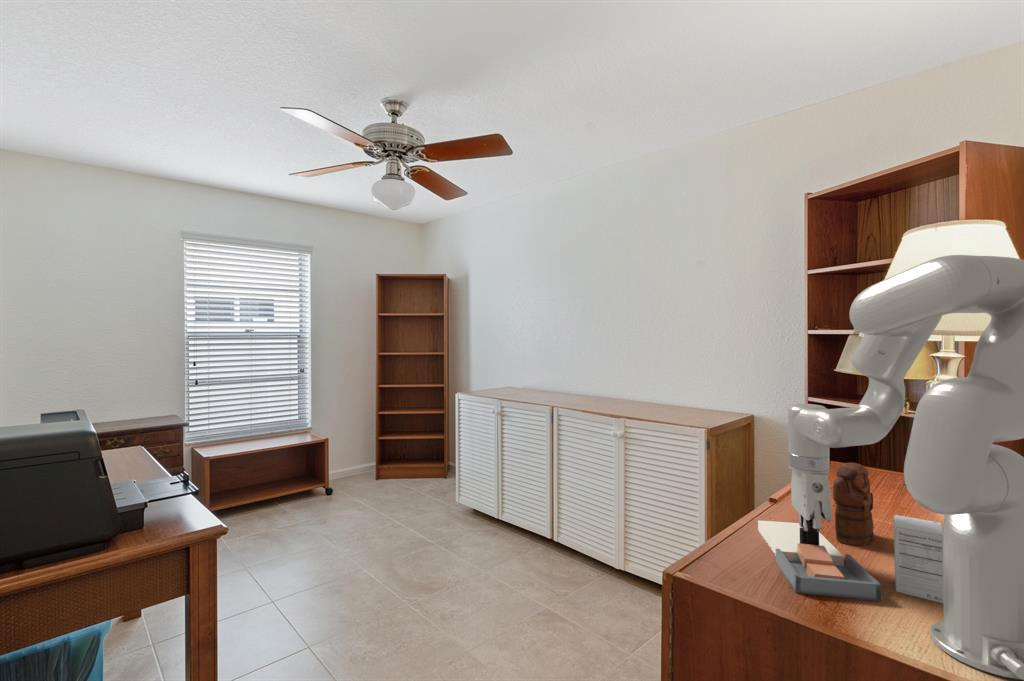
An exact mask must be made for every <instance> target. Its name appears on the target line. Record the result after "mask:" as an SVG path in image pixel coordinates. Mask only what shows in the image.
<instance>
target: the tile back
mask: <svg viewBox="0 0 1024 681" xmlns="http://www.w3.org/2000/svg"><path fill="white" fill-rule="evenodd" d="M797 554H798V556H799V558H800V560H801V563H802V565H803V567H804V568H806V562H809V563H819V564H829V565H833V561H832V559H831V557H830V555H829V553H828V552H827V550H826V548H825V546H820V545H810V544H799V543H797Z"/></svg>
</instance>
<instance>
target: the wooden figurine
mask: <svg viewBox="0 0 1024 681" xmlns="http://www.w3.org/2000/svg"><path fill="white" fill-rule="evenodd" d="M832 499H833V501H834V502H835V503H834V504H835V505H836V506H835V509H834V528H835V539H836V541H837V542H839V543H841V544H845V545H846V544H847V545H852V546H867V545H869V544H870V542H871V541H873V536H874V535H875V534H874V528H875V526H874V519H873V514H872V510H873V509H874V495H873V493H872V492H871V484H870V478H869V471H868V469H867V467H865V466H864V465H862V464H860V463H856V462H845V463H843V464H841V465H840V466H839V467H838V469H837V470H836V478H835V479H834V481H833V484H832Z"/></svg>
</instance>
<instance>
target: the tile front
mask: <svg viewBox="0 0 1024 681" xmlns="http://www.w3.org/2000/svg"><path fill="white" fill-rule="evenodd" d="M806 573H807V575H808V576H810V577H821V578H832V579H843V580H845V578H844V576H843V575H842V573H841V572H840V571H839V570H838V569H837V567H836V566H835V565H829V564H819V563H809V562H806Z"/></svg>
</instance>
